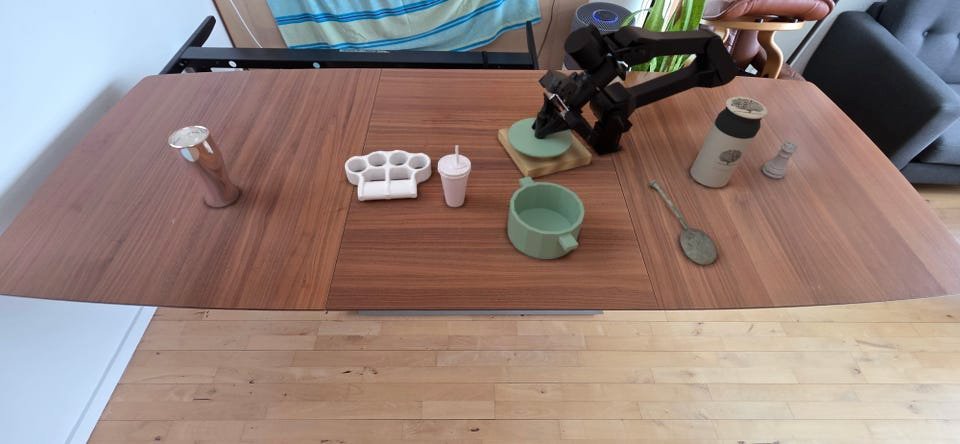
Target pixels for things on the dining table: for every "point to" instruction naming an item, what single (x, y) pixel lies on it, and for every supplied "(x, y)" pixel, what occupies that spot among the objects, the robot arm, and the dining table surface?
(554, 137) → the lid
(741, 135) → the travel mug
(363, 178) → the knuckle duster
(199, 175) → the beer glass
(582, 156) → the board
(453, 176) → the smoothie
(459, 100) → the dining table surface
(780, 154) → the rook chess piece
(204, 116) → the dining table surface
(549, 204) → the pot
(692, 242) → the soupspoon
